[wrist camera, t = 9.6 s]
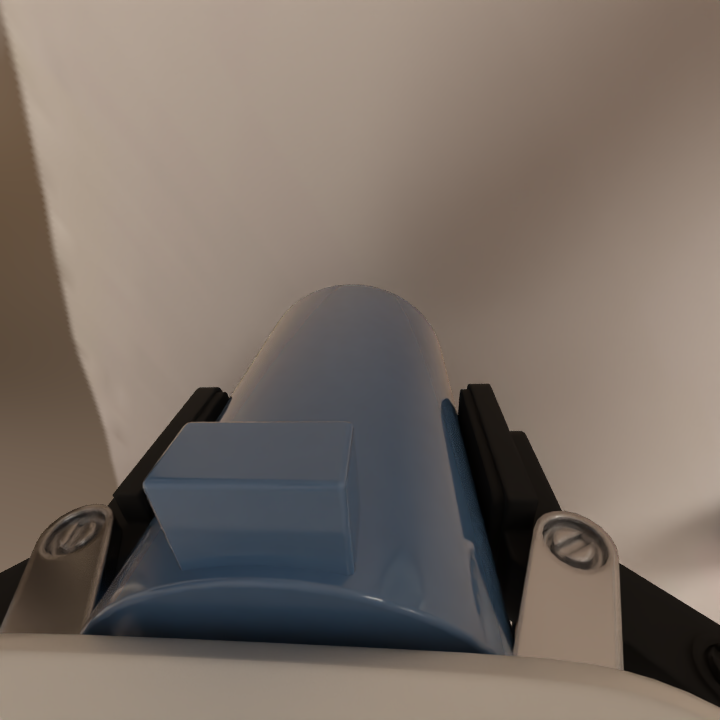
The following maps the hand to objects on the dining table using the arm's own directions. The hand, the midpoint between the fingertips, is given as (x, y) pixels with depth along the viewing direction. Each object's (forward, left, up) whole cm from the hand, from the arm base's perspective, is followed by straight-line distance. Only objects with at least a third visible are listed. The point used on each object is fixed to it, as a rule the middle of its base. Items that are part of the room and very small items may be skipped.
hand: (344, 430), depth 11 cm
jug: (0, 0, -4) cm, 4 cm away
